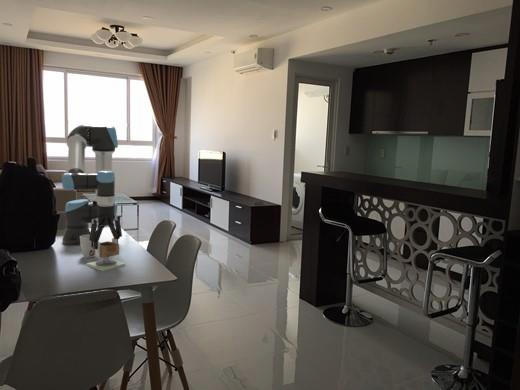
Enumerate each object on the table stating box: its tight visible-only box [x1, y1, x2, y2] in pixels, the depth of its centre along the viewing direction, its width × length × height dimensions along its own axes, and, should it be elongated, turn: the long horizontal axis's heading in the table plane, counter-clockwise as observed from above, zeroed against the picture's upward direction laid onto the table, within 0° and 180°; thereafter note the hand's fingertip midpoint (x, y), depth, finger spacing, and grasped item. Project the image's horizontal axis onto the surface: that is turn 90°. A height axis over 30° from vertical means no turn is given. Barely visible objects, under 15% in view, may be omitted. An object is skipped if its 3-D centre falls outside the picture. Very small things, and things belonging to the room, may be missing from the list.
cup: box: [79, 235, 96, 258], centre depth 209 cm, size 8×8×10 cm
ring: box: [93, 240, 120, 259], centre depth 195 cm, size 8×8×5 cm
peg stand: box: [86, 257, 126, 272], centre depth 196 cm, size 12×12×8 cm
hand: (106, 254), depth 196 cm, fingers closed on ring, 8 cm apart
